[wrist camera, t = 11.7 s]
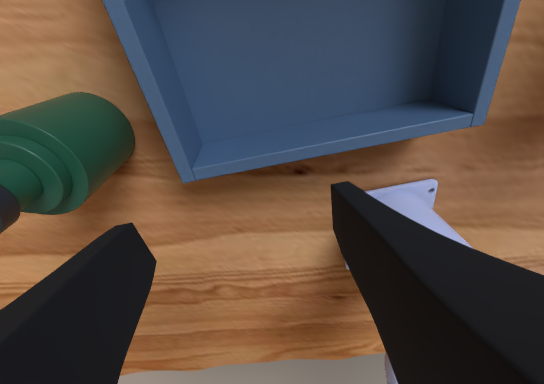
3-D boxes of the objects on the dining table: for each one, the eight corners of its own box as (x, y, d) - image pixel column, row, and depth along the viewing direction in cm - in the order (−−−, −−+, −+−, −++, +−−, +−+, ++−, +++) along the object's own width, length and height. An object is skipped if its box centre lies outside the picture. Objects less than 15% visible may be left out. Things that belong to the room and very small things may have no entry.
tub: (489, -219, 10) (630, -367, 7) (433, 105, 18) (484, 124, 14) (93, -123, 11) (9, -209, 7) (196, 152, 18) (182, 183, 14)
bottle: (147, 158, 18) (69, 251, 10) (80, 171, 18) (-47, 273, 11) (110, 84, 16) (-35, 134, 8) (32, 101, 16) (-190, 166, 8)
